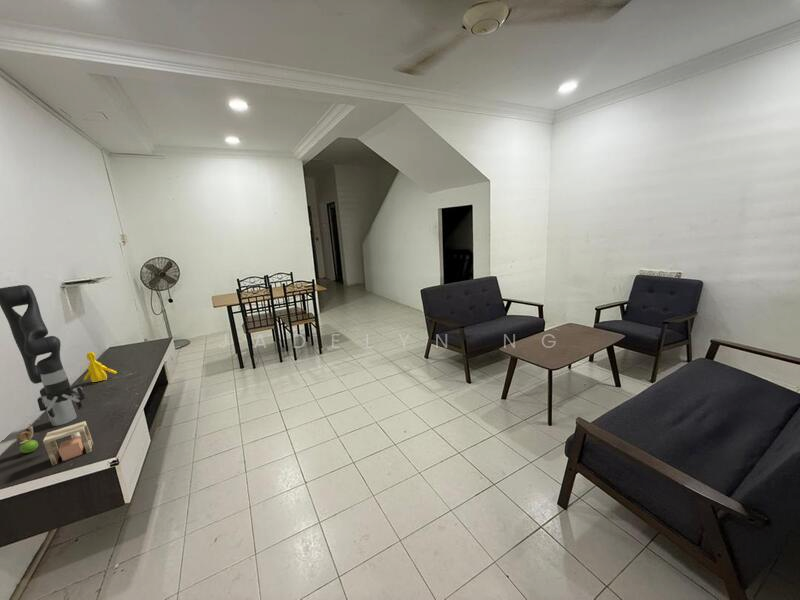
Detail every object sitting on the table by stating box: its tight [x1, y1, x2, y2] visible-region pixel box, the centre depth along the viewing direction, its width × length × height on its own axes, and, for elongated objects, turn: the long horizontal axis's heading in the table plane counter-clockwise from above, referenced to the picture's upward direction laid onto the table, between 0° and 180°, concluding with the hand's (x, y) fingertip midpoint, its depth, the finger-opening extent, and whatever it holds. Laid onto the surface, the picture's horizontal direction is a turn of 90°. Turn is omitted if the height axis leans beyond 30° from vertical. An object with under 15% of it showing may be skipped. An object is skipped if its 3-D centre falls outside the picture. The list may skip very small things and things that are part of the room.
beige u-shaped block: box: [42, 420, 94, 466], centre depth 137 cm, size 8×12×12 cm, turn 129°
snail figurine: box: [17, 423, 39, 454], centre depth 142 cm, size 5×6×12 cm
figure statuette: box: [83, 351, 118, 383], centre depth 211 cm, size 18×8×22 cm, turn 118°
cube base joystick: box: [58, 432, 85, 462], centre depth 141 cm, size 15×6×8 cm, turn 39°
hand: (67, 412), depth 144 cm, fingers open, 8 cm apart
